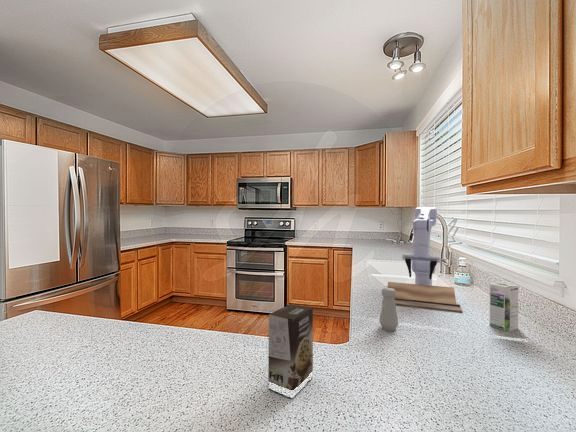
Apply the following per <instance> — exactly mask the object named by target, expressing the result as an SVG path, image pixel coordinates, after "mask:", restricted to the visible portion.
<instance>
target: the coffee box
mask: <svg viewBox="0 0 576 432" xmlns="http://www.w3.org/2000/svg"><path fill="white" fill-rule="evenodd" d="M313 312H314V307H311V306H305V305H299V304H293V303H289V304H287V305H285V306H283V307H281V308H278V309H276V310H275V311H273V312H271V313H268V352H267V353H268V365H267V374H268V375H267V377H268V379H267V381H269V382H271V383H274V384H276V385H278V386H281V387H284V388H287V389H289V390H294V389H295V388H296V387H298V386H299V385H300V384H301V383H302V382H303V381H304V380H305V379H306V378H307V377H308V376H309V374H310V373H311V372H312V371H313V372H314V368H313V367H314V363H313V362H314V360H313V359H314V356H313V355H314V345H313V344H314V342H313V341H314V339H313V338H314V334H313V333H314V329H313V328H314V313H313Z"/></svg>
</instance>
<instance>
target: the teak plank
mask: <svg viewBox="0 0 576 432" xmlns="http://www.w3.org/2000/svg"><path fill="white" fill-rule="evenodd" d="M386 288H392V289H394V290H395V291H396V296H395V297H394V298H403V299H412V300H422V301H431V302H441V303H450V304H457V299H456V298H457V297H456V292H455V287H454V286H453V287H451V286H442V285H440V286H439V285H432V286H430V285H419V284H415V283H406V282H405V283H404V282H395V281H393V282H392V281H387V287H386Z"/></svg>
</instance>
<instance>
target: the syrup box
mask: <svg viewBox="0 0 576 432" xmlns="http://www.w3.org/2000/svg"><path fill="white" fill-rule="evenodd" d="M488 324H489V326H490V327H493V328H495V329H499V330H502V331H505V332H512V331H515V330H518V329H519V285H513V284H510V283H509V284H508V283H504V282H492V283H490V284H489V323H488Z"/></svg>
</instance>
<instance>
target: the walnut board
mask: <svg viewBox="0 0 576 432" xmlns="http://www.w3.org/2000/svg"><path fill="white" fill-rule="evenodd" d="M383 300H384V298H383V299H382V301H383ZM394 300H395V306H399V307H406V308H407V307H408V308H409V307H411V308H416V309H417V308H418V309H424V310H425V309H426V310H432V311H433V310H434V311H444V312H452V313H462V314H463V309H462V307H461V304H460V303H456V304H450V303H441V302H431V301H422V300H412V299H403V298H394Z"/></svg>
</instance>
